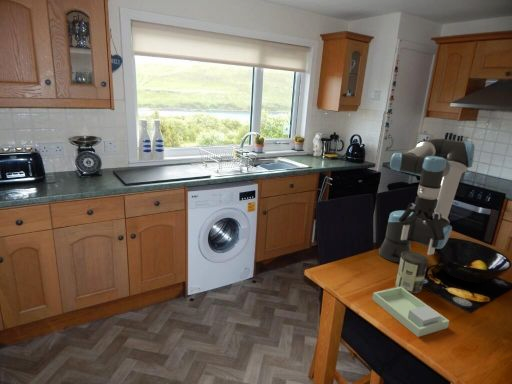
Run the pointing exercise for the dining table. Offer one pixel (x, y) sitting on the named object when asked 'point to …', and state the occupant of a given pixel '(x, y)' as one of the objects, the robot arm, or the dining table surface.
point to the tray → (406, 309)
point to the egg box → (423, 316)
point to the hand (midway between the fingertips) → (416, 246)
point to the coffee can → (411, 271)
